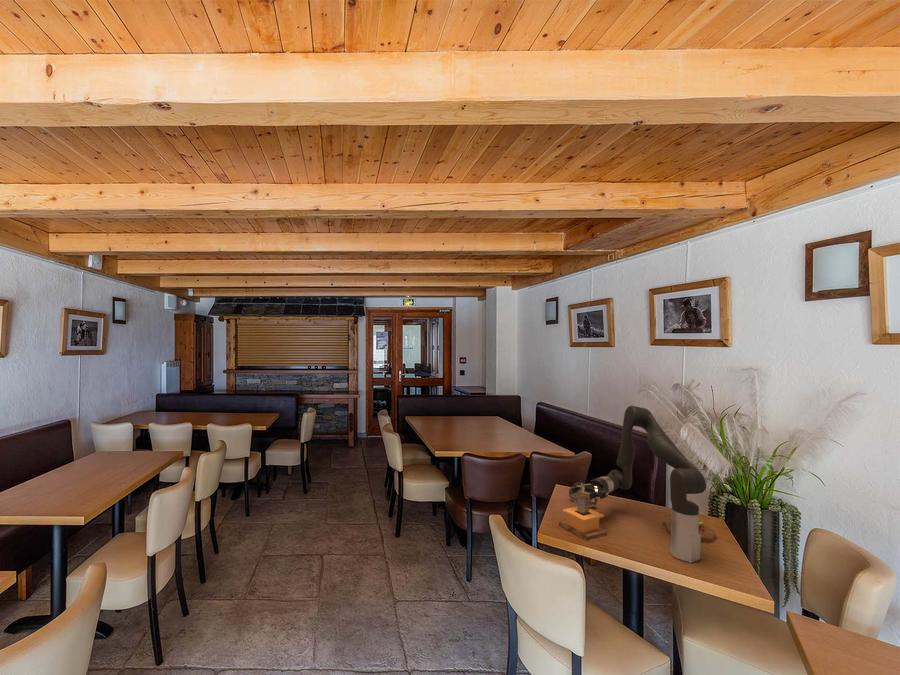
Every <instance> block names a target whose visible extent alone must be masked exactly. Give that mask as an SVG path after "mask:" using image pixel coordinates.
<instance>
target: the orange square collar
mask: <svg viewBox="0 0 900 675" xmlns="http://www.w3.org/2000/svg"><path fill="white" fill-rule="evenodd" d="M562 512H563V513H565V514H566V519H565V520H566V524H567V525H569V526H571V527H573V528H575V529H577V530H579V531H581V532H583V533H585V532H588V531H592V530H596V529H599V527H600V520H601V518H605V515H604V514H602V513H601V512H598V511H596V510H593V509H591V508H589V515H585V516H583V515H581V514H579V513H577V506H573V507H567V508H564V509H562Z"/></svg>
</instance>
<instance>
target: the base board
mask: <svg viewBox="0 0 900 675" xmlns="http://www.w3.org/2000/svg"><path fill="white" fill-rule="evenodd" d="M566 520H567V519H565V520H560V521H559V522H558V525H559V526H560V527H562V528H563V529H565V530H567V531H569V532H571V533H573V534H575V535H576V534H577V536H578V535H579V536H578V537H580V536H581V537H580V538H582V537H583V538H582V539H584V538H585V539H584V540H586V539H587V540H586V541H589V540H588V539H590V540H592V538H593V539H596V538H595V537H597V538H600V537H603V535H604V536H607V535H608V530H606V529H604V528H602V527H600V526H599V529H596V530H592V531H588V532H585V533H583V532H581V531H579V530H577V529H575V528H573V527H571V526H569V525H567V524H566ZM599 536H600V537H599Z"/></svg>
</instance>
